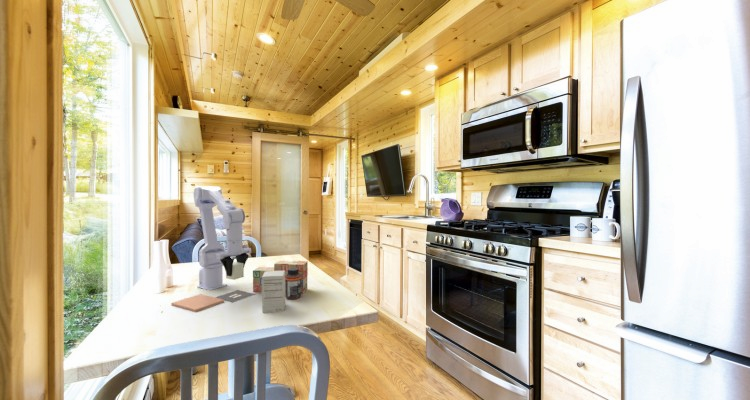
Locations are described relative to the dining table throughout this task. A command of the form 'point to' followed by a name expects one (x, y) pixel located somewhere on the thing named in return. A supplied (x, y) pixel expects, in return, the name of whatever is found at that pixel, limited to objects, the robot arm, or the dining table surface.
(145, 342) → the dining table surface
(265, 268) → the stack of blocks
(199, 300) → the plate
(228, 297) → the mat
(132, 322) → the dining table surface
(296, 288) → the supplement bottle
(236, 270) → the sage block
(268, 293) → the supplement box
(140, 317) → the dining table surface
